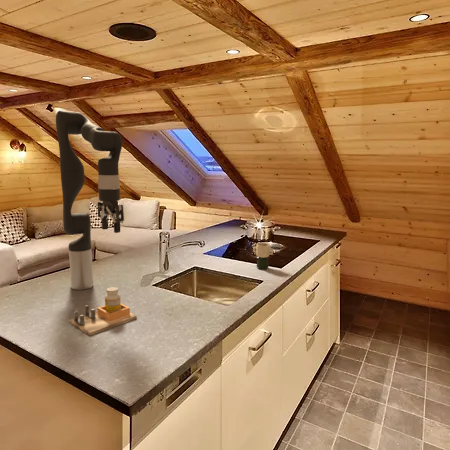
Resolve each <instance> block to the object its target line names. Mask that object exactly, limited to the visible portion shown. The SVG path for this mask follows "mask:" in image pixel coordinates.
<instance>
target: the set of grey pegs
mask: <svg viewBox="0 0 450 450" xmlns="http://www.w3.org/2000/svg"><path fill="white" fill-rule="evenodd" d="M95 311H96V309H95V308H92V309H91V308H90V305H88V304H86V305H84V314H80V315H79V311H78V310H74V311H73V318H74V321H75V322H76V323H78V324H79V325H81V326H84V325H85V323H84V315H86V316H87V317H89V318H91V319H92V320H93V319H96V317H95ZM90 313H91V314H90ZM78 317H80V320H79V319H78Z"/></svg>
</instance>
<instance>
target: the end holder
mask: <svg viewBox="0 0 450 450" xmlns="http://www.w3.org/2000/svg"><path fill="white" fill-rule="evenodd" d="M96 311H98V315H100V316H101V317H103V318H105V319H107V320H108V321H112V320H115V319H118V318H120V317H123V316H126V315H129V314H130V313H131V309H130V307H129V306H127V305H126V304H123V303H121V310H118V311H115V312H112V313H109V312H107V311H106V309H105V305H102V306H100V307H97V309H96Z"/></svg>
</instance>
